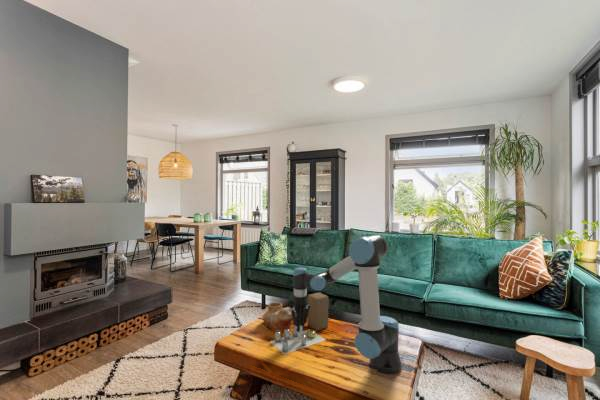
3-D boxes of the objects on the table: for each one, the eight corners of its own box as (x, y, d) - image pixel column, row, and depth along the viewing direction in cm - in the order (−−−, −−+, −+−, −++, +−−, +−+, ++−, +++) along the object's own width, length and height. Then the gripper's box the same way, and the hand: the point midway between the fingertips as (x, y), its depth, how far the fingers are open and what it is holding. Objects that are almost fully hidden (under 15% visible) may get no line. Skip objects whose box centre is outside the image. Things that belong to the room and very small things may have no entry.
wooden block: (319, 321, 193) (319, 291, 193) (328, 327, 185) (329, 296, 185) (306, 325, 187) (307, 294, 187) (316, 331, 179) (316, 299, 179)
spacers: (310, 344, 162) (310, 335, 162) (284, 353, 152) (284, 343, 152) (296, 334, 173) (296, 325, 173) (271, 341, 164) (271, 333, 164)
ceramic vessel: (280, 339, 169) (281, 313, 169) (258, 323, 190) (259, 300, 190) (299, 332, 177) (300, 308, 177) (276, 318, 198) (277, 296, 198)
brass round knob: (317, 336, 170) (317, 331, 170) (311, 339, 167) (311, 334, 167) (311, 333, 174) (311, 328, 174) (305, 336, 171) (305, 331, 171)
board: (326, 341, 167) (326, 339, 167) (284, 356, 151) (284, 354, 151) (309, 330, 180) (309, 329, 180) (269, 343, 164) (269, 341, 164)
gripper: (305, 291, 173) (305, 331, 173) (287, 295, 165) (286, 337, 165) (313, 295, 166) (313, 336, 166) (294, 299, 159) (294, 342, 159)
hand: (300, 336), depth 166 cm, fingers closed
